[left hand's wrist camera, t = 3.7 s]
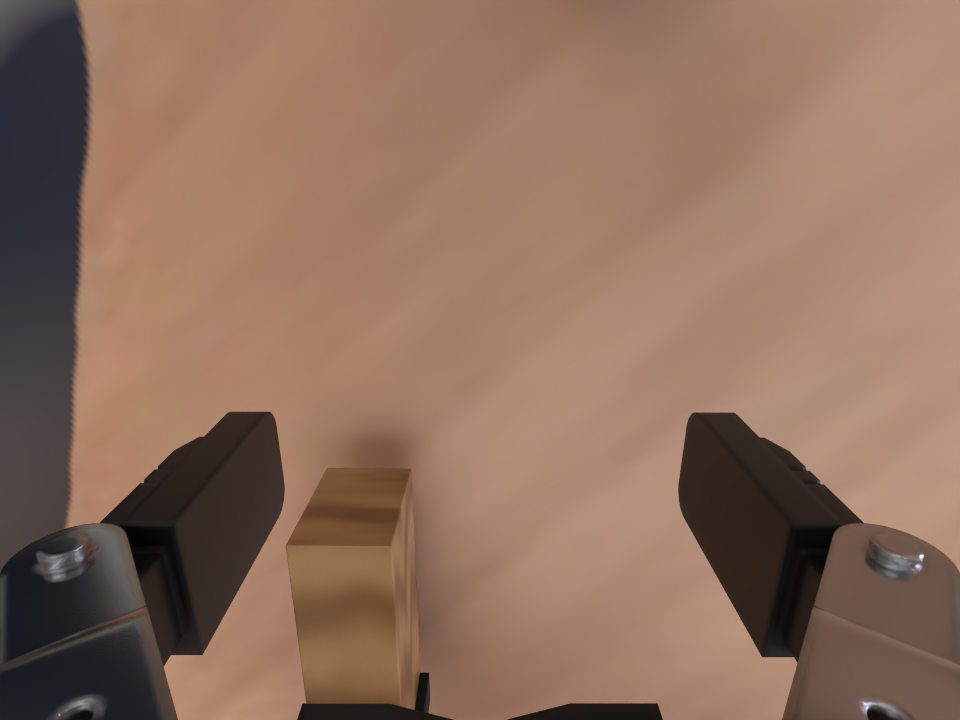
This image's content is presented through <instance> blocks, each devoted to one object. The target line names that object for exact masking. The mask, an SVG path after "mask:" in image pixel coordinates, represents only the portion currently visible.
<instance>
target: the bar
mask: <svg viewBox="0 0 960 720" xmlns="http://www.w3.org/2000/svg"><path fill="white" fill-rule="evenodd" d="M286 551H287V559H288V566H289V574H290V582H291V589H292V597H293V604H294V612H295V619H296V627H297V635H298V642H299V650H300V657H301V665H302V672H303V680H304V688H305V695H306V703H307V704H393V705H397V706H401V707H405V708H409V709H413V710H415V704H416V696H417V689H418V682H419V674H420V652H419V629H418V607H417V584H416V561H415V539H414V516H413V494H412V471H411V469H363V468H327V470H326V471H325V473H324V475H323V477H322V479H321V481H320V483H319V485H318V486H317V488H316V490H315V492H314V494H313V496H312V498H311V500H310V501H309V503H308V505H307V507H306V509H305V511H304V513H303V515H302V516H301V518H300V520H299V522H298V524H297V526H296V528H295V530H294V531H293V533H292V535H291V537H290V539H289V541H288V543H287V545H286Z"/></svg>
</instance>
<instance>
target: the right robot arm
mask: <svg viewBox="0 0 960 720" xmlns="http://www.w3.org/2000/svg"><path fill="white" fill-rule="evenodd" d="M429 703H430V685H429V673H420V674H419V682H418V689H417V696H416V704H415V710H417V711H421V712H425V713H429Z"/></svg>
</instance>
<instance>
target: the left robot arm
mask: <svg viewBox="0 0 960 720" xmlns="http://www.w3.org/2000/svg"><path fill="white" fill-rule="evenodd" d="M284 490H285V488H284V477H283V470H282V463H281V455H280V448H279V441H278V434H277V426H276V421H275V418H274V416H273V414H272V413H271V412H229V413H227V414H226V415H225V416H224V417H223V418H222V419H221V420H220V421H219V422H218V423H217V424H216V425H215V426H214V427H213V428H212V429H211V430H210V431H209V432H208V433H207V434H206V435H205V436H204V437H198V438H196V439H195V440H193V441H191V442H189V443H187V444H185V445H183V446H182V447H180V448H178V449H176V450H174V451H173V452H172V453H171V454H170V455H169V456H168V457H167V458H166V459H165V460H164V461H163V462H162V463H161V464H160V465H159V466H158V470H154V471H153V472H152V473H151V474H150V475H149V476H148V477H147V478H145V479H144V483H140V484H139V485H138V486H137V487H136V488H135V489H134V490H133V491H132V492H131V493H130V494H129V495H128V496H127V497H126V498H125V499H124V500H123V501H122V502H121V503H120V504H119V505H118V506H117V507H116V508H115V509H113V510H112V511H111V512H110V513H109V514H108V515H107V516H106V517H105V518H104V519H103V520H102V521H101V522H100V523H94V524H85V525H79V526H74V527H71V528H67V529H63V530H60V531H58V532H55V533H52V534H50V535H47V536H45V537H43V538H41V539H39V540H37V541H35V542H33V543H31V544H30V545H28V546H26V547H25V548H23V549H22V550H20V551H19V552H18V553H16V554H15V555H14V556H13V557H12V558H11V559H10V560H9V561H8V562H7V563H6V564H5V565H4V567H3V569H2V570H1V572H0V720H178V719H177V715H176V711H175V708H174V704H173V700H172V697H171V693H170V689H169V686H168V682H167V678H166V675H165V671H164V665H165V664H166V662H167V660H168V659H169V657H170V655H203V653H204V651H205V649H206V647H207V646H208V644H209V642H210V640H211V638H212V637H213V635H214V633H215V631H216V629H217V628H218V626H219V624H220V622H221V620H222V619H223V617H224V615H225V613H226V611H227V610H228V608H229V606H230V604H231V602H232V601H233V599H234V597H235V595H236V593H237V592H238V590H239V588H240V586H241V584H242V583H243V581H244V579H245V577H246V575H247V574H248V572H249V570H250V568H251V566H252V565H253V563H254V561H255V559H256V557H257V555H258V554H259V552H260V550H261V548H262V546H263V545H264V543H265V541H266V539H267V537H268V536H269V534H270V532H271V530H272V528H273V527H274V525H275V523H276V521H277V519H278V518H279V516H280V513H281V510H282V507H283V502H284ZM678 491H679V503H680V508H681V511H682V514H683V517H684V519H685V520H686V522H687V524H688V526H689V527H690V529H691V531H692V533H693V535H694V536H695V538H696V540H697V542H698V544H699V545H700V547H701V549H702V551H703V552H704V554H705V556H706V558H707V560H708V561H709V563H710V565H711V567H712V568H713V570H714V572H715V574H716V576H717V577H718V579H719V581H720V583H721V584H722V586H723V588H724V590H725V592H726V593H727V595H728V597H729V599H730V601H731V602H732V604H733V606H734V608H735V609H736V611H737V613H738V615H739V617H740V618H741V620H742V622H743V624H744V625H745V627H746V629H747V631H748V633H749V634H750V636H751V638H752V640H753V641H754V643H755V645H756V647H757V649H758V650H759V652H760V654H761V656H762V657H794V658H795V659H796V661H797V662H798V664H797V667H796V671H795V675H794V678H793V682H792V686H791V689H790V693H789V697H788V700H787V704H786V708H785V711H784V715H783V719H782V720H960V572H959V570H958V569H957V567H956V565H955V564H954V563H953V562H952V561H951V560H950V559H949V558H948V557H947V556H946V555H945V554H944V553H942V552H941V551H940V550H938V549H937V548H935V547H934V546H932V545H930V544H929V543H927V542H925V541H923V540H921V539H919V538H917V537H915V536H913V535H910V534H908V533H905V532H902V531H900V530H897V529H893V528H889V527H886V526H881V525H875V524H866V523H863V522H862V521H861V520H860V519H859V518H858V517H857V516H856V515H855V514H854V513H853V512H852V511H851V510H850V509H849V508H848V507H847V506H846V505H845V504H844V503H843V502H842V501H840V500H839V499H838V498H837V497H836V496H835V495H834V494H833V493H832V492H831V491H830V490H829V489H828V488H827V487H826V486H825V485H821V484H820V480H819V479H818V478H817V477H815V476H814V475H813V474H812V473H811V472H810V471H806V467H805V466H804V465H803V464H802V463H801V462H800V461H799V460H798V459H797V458H796V457H795V456H794V455H793V454H792V453H790V452H789V451H788V450H786V449H784V448H782V447H780V446H778V445H777V444H775V443H773V442H771V441H769V440H767V439H765V438H759V437H758V436H757V435H756V434H755V433H754V432H753V431H752V430H751V428H750V427H749V426H748V425H747V424H746V423H745V422H744V421H743V420H742V419H741V418H740V417H739V416H738V415H737V414H735V413H692V414H691V416H690V417H689V420H688V423H687V428H686V435H685V442H684V450H683V457H682V464H681V471H680V478H679V489H678ZM297 720H452V719H448V718H444V717H440V716H437V715H433V714H429V713H425V712H421V711H417V710H413V709H409V708H405V707H401V706H397V705H393V704H302V707H301V710H300V713H299V716H298V719H297ZM508 720H663V719H662V716H661V713H660V710H659V707H658V704H567V705H563V706H559V707H555V708H551V709H547V710H543V711H539V712H535V713H531V714H527V715H523V716H520V717H516V718H512V719H508Z"/></svg>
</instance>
